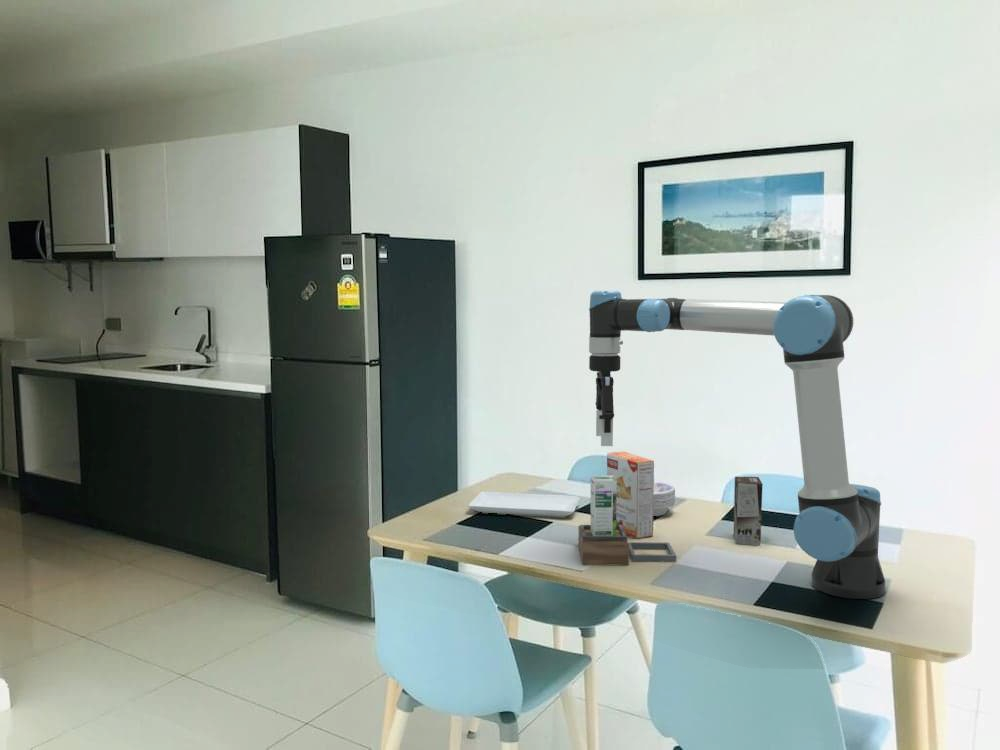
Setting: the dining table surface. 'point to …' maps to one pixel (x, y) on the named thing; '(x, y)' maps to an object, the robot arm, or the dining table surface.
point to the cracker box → (633, 492)
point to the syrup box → (603, 505)
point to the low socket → (651, 558)
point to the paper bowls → (662, 498)
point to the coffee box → (747, 510)
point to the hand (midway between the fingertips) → (604, 440)
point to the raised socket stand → (603, 547)
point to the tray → (524, 504)
